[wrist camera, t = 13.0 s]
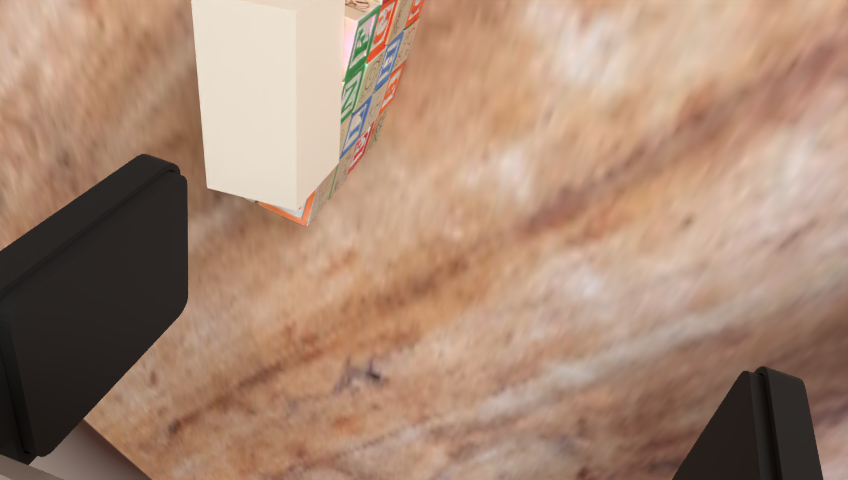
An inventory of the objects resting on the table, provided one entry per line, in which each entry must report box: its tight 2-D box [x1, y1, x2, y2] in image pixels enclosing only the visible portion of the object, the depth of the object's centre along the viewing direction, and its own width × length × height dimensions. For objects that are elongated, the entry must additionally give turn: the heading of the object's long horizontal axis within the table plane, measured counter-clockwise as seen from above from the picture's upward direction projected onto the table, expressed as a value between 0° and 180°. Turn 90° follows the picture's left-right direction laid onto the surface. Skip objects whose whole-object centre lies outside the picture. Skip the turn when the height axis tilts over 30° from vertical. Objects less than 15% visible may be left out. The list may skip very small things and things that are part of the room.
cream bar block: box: [191, 0, 345, 211], centre depth 32 cm, size 4×9×5 cm, turn 173°
